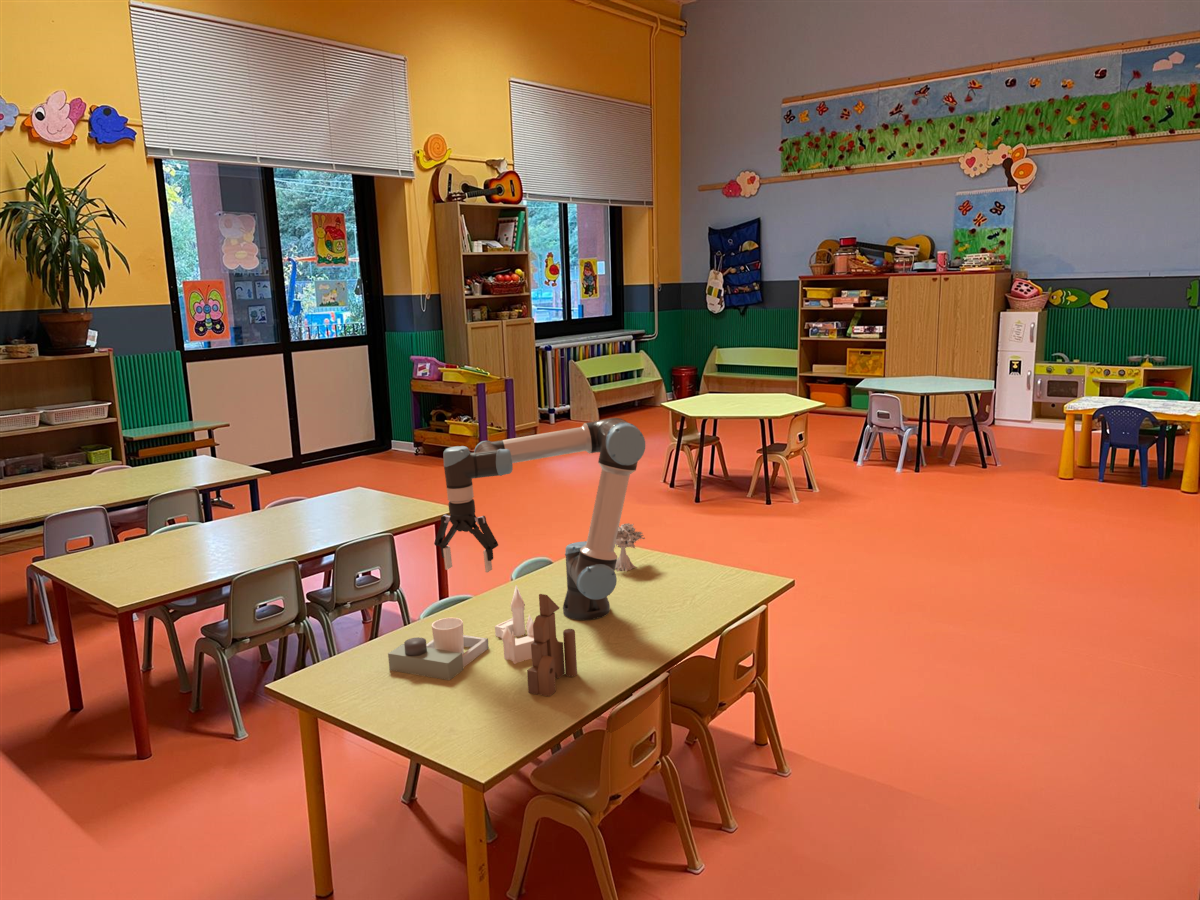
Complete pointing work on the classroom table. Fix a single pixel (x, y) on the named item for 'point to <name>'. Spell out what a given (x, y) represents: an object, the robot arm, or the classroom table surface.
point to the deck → (434, 657)
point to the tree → (626, 545)
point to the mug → (448, 634)
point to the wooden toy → (550, 651)
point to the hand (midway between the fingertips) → (468, 569)
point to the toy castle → (516, 632)
